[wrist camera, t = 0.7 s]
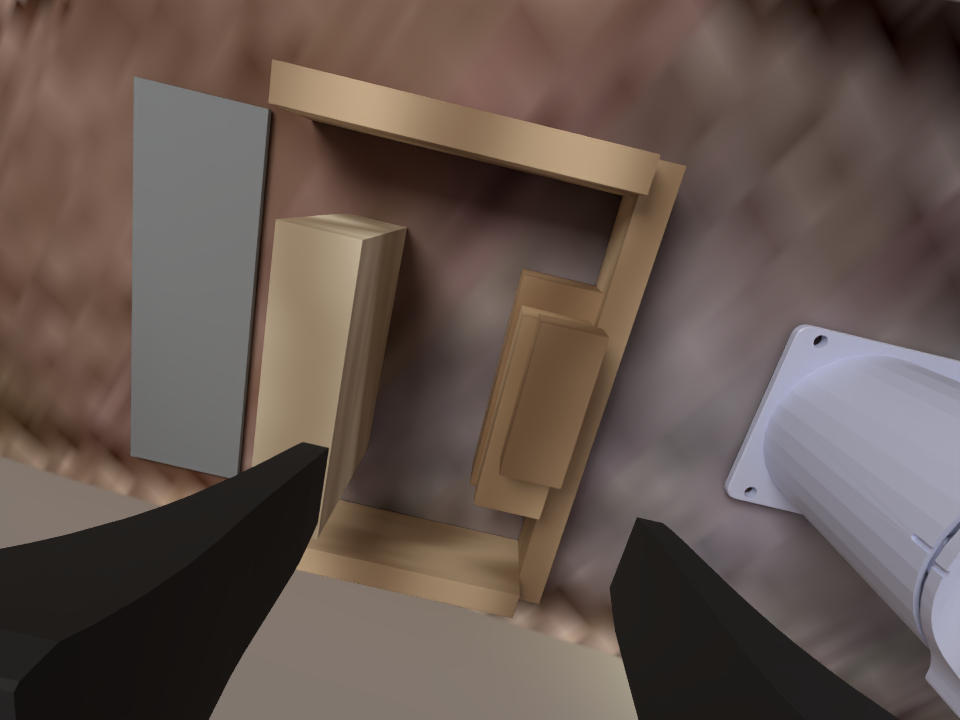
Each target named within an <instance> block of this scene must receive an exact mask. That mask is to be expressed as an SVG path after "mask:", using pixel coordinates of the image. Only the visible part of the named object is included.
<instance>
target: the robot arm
mask: <svg viewBox="0 0 960 720" xmlns="http://www.w3.org/2000/svg"><path fill="white" fill-rule="evenodd" d="M820 335H821V337H822V339H821V341H820V343H819V344H817V345H814V344H813V343H814V340H815V338H816V337H818V336H820ZM328 452H329V448H328V447H323V446H319V445H314V444H310V443H306V442H301V443H299V444H297V445H295V446H293V447H291V448H289V449H287V450H285V451H283V452H281V453H279V454H277V455H276V456H274V457H272V458H270V459H268V460H266V461H264V462H262V463H260V464H258V465H256V466H254V467H252V468H250V469H248V470H246V471H244V472H242V473H240V474H238V475H236V476H234V477H231V478H229V479H227V480H225V481H222V482H220V483H218V484H216V485H213V486H211V487H209V488H206V489H204V490H202V491H200V492H197V493H195V494H193V495H191V496H188V497H185V498H183V499H180V500H178V501H175V502H172V503H170V504H167V505H164V506H162V507H159V508H156V509H153V510H150V511H147V512H144V513H141V514H138V515H135V516H132V517H129V518H126V519H122V520H119V521H115V522H111V523H107V524H104V525H101V526H97V527H93V528H89V529H86V530H82V531H78V532H75V533H71V534H67V535H63V536H59V537H55V538H50V539H46V540H41V541H37V542H33V543H28V544H23V545H18V546H12V547H7V548H2V549H0V720H209V718H210V716H211V714H212V712H213V710H214V708H215V706H216V704H217V702H218V700H219V698H220V696H221V694H222V692H223V690H224V688H225V686H226V684H227V682H228V680H229V678H230V676H231V674H232V673H233V671H234V669H235V667H236V666H237V664H238V662H239V660H240V659H241V657H242V655H243V653H244V652H245V650H246V648H247V647H248V645H249V644H250V642H251V640H252V639H253V637H254V636H255V634H256V632H257V631H258V629H259V627H260V626H261V624H262V623H263V621H264V620H265V618H266V616H267V615H268V613H269V612H270V610H271V608H272V607H273V605H274V604H275V602H276V600H277V599H278V597H279V596H280V594H281V592H282V590H283V589H284V587H285V585H286V584H287V583H288V581H289V579H290V577H291V576H292V574H293V573H294V571H295V569H296V568H297V566H298V564H299V563H300V561H301V559H302V557H303V554H304V552H305V550H306V548H307V546H308V544H309V542H310V539H311V537H312V535H313V533H314V531H315V528H316V526H317V524H318V519H319V512H320V506H321V499H322V492H323V486H324V479H325V472H326V466H327V459H328ZM724 487H725V490H726V492H727V493H728V494H729V496H730V497H732V498H734V499H738V500H742V501H747V502H751V503H755V504H760V505H764V506H768V507H772V508H777V509H781V510H785V511H790V512H794V513H798V514H803V515H804V516H805V517H806V518H807V519H808V521H809V522H810V523H811V524H812V525H813V526H814V527H815V528H816V529H817V530H818V531H819V532H820V533H821V534H822V535H823V537H824V538H825V539H826V540H827V541H828V542H829V543H830V544H831V545H832V546H833V547H834V548H835V549H836V550H837V551H838V553H839V554H840V555H841V556H842V557H843V558H844V559H845V560H846V561H847V562H848V563H849V564H850V565H851V566H852V567H853V569H854V570H855V571H856V572H857V573H858V574H859V575H860V576H861V577H862V578H863V579H864V580H865V581H866V582H867V583H868V585H869V586H870V587H871V588H872V589H873V590H874V591H875V592H876V593H877V594H878V595H879V596H880V597H881V598H882V599H883V600H884V602H885V603H886V604H887V605H888V606H889V607H890V608H891V609H892V610H893V611H894V612H895V613H896V614H897V615H898V616H899V618H900V619H901V620H902V621H903V622H904V623H905V624H906V625H907V626H908V627H909V628H910V629H911V630H912V631H913V632H914V634H915V635H916V636H917V637H918V638H919V639H920V640H921V641H922V642H923V643H924V644H925V645H926V646H927V647H928V648H929V649H930V651H931V664H930V668H929V670H928V672H927V674H926V677H925V679H926V681H927V682H928V683H929V684H930V685H931V686H932V687H933V689H934V690H935V691H936V692H937V693H938V694H939V695H940V697H941V698H942V699H943V700H944V701H945V702H946V704H947V705H948V706H949V707H950V708H951V709H952V710H953V712H954V713H955V714H956V715H957V716H958V717H959V718H960V361H959V360H954V359H950V358H946V357H942V356H938V355H934V354H929V353H925V352H921V351H917V350H913V349H909V348H904V347H900V346H896V345H892V344H888V343H884V342H879V341H875V340H871V339H867V338H863V337H859V336H854V335H850V334H846V333H842V332H838V331H834V330H829V329H825V328H821V327H817V326H813V325H808V324H803V325H800V326H798V327H797V328H795V329H794V330H793V332H792V333H791V335H790V338H789V340H788V342H787V344H786V347H785V349H784V351H783V353H782V356H781V358H780V360H779V362H778V365H777V367H776V369H775V372H774V374H773V376H772V378H771V381H770V383H769V385H768V387H767V390H766V392H765V394H764V396H763V399H762V401H761V403H760V405H759V408H758V410H757V412H756V414H755V417H754V419H753V421H752V423H751V426H750V428H749V430H748V432H747V435H746V437H745V439H744V442H743V444H742V446H741V448H740V451H739V453H738V455H737V457H736V460H735V462H734V464H733V466H732V469H731V471H730V473H729V475H728V478H727V480H726V482H725V486H724ZM749 487H753V488H752V490H751V491H749V492H745V490H746V489H747V488H749ZM610 594H611V603H612V611H613V618H614V625H615V632H616V636H617V640H618V644H619V648H620V652H621V656H622V660H623V663H624V667H625V671H626V675H627V679H628V682H629V686H630V690H631V694H632V697H633V701H634V705H635V708H636V712H637V716H638V720H900V719H898V718H896V717H895V716H893V715H892V714H891V713H889V712H888V711H886V710H885V709H883V708H882V707H880V706H879V705H877V704H876V703H875V702H873V701H872V700H870V699H869V698H867V697H866V696H864V695H863V694H862V693H860V692H859V691H857V690H856V689H854V688H853V687H852V686H850V685H849V684H847V683H846V682H845V681H843V680H842V679H841V678H839V677H838V676H836V675H835V674H834V673H832V672H831V671H830V670H828V669H827V668H826V667H825V666H823V665H822V664H821V663H819V662H818V661H817V660H816V659H814V658H813V657H812V656H810V655H809V654H808V653H807V652H805V651H804V650H803V649H802V648H800V647H799V646H798V645H796V644H795V643H794V642H793V641H792V640H790V639H789V638H788V637H787V636H785V635H784V634H783V633H782V632H781V631H779V630H778V629H777V628H776V627H775V626H774V625H773V624H771V623H770V622H769V621H768V620H767V619H766V618H765V617H763V616H762V615H761V614H760V613H759V612H758V611H757V610H755V609H754V608H753V607H752V606H751V605H750V604H749V603H748V602H747V601H746V600H744V599H743V598H742V597H741V596H740V595H739V594H738V593H737V592H736V591H735V590H734V589H733V588H732V587H730V586H729V585H728V584H727V583H726V582H725V581H724V580H723V579H722V578H721V577H720V576H719V575H718V574H717V573H716V572H715V571H714V570H713V569H712V568H711V567H710V566H709V565H708V564H707V563H705V562H704V561H703V560H702V559H701V558H700V557H699V556H698V555H697V554H696V553H695V552H694V551H693V550H692V549H691V548H690V547H689V546H688V545H687V544H686V543H685V542H684V541H683V540H682V539H681V538H679V537H678V536H677V535H676V534H675V533H674V532H673V531H672V530H671V529H669V528H668V527H667V526H666V525H664V524H663V523H660V522H655V521H651V520H646V519H642V518H638V517H637V519H636V521H635V524H634V527H633V529H632V532H631V534H630V537H629V539H628V542H627V545H626V547H625V550H624V552H623V555H622V558H621V560H620V563H619V565H618V568H617V570H616V573H615V576H614V578H613V581H612V583H611V586H610Z"/></svg>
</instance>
